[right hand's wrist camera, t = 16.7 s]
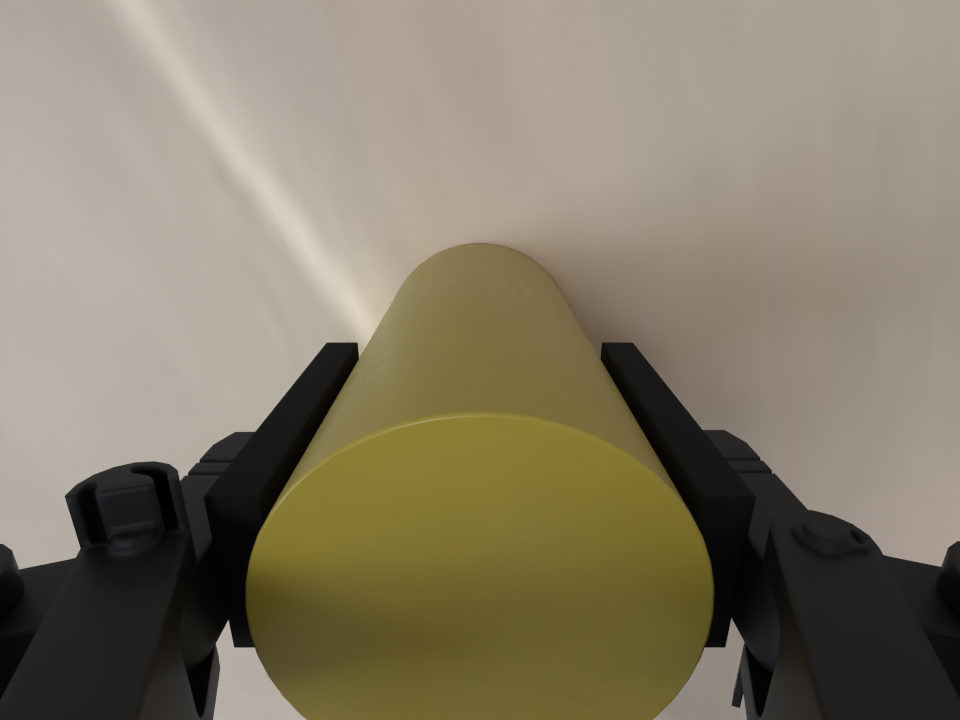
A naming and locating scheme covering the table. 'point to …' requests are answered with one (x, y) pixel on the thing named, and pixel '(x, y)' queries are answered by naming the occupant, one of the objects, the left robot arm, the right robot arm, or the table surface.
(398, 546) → the canister
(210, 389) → the table surface
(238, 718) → the table surface
